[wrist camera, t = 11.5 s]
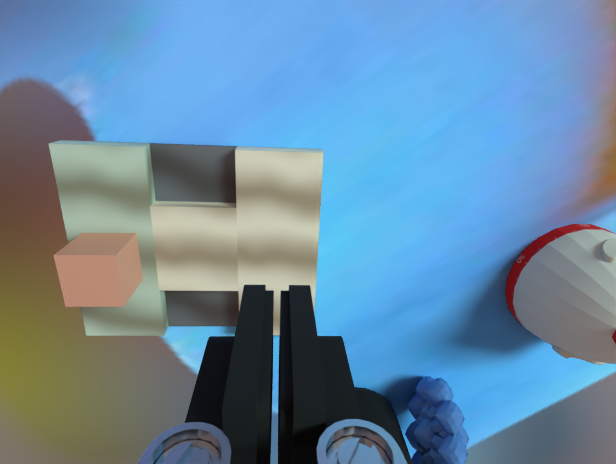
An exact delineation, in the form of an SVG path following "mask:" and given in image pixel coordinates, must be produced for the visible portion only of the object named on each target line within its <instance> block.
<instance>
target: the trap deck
mask: <svg viewBox="0 0 616 464" xmlns="http://www.w3.org/2000/svg"><path fill="white" fill-rule="evenodd" d="M49 148H50V154H51V159H52V163H53V169H54V174H55V179H56V184H57V189H58V194H59V199H60V205H61V210H62V215H63V220H64V225H65V229H66V235H67V240H68V244H69V243H70V242H71V241H72V240H74V239H75V238H76V237H78V236H79V235H80V234H81V233H137V240H138V247H139V255H140V262H141V269H142V276H143V280H142V282H141V283H140V284H139V286H138V287H137V289H136V290H135V292H134V293H133V295H132V296H131V298H130V299H129V300H128V302H127V303H126V305H125V306H123V307H81V311H82V316H83V321H84V326H85V331H86V335H87V336H115V335H116V336H117V335H118V336H122V335H123V336H126V335H127V336H128V335H129V336H130V335H131V336H137V335H140V336H141V335H164V334H165V332H166V330H167V328H168V326H237V321H238V316H239V310H240V304H241V299H242V293H243V288H244V285H266V290H274V314H273V335H280V294H281V291H289V285H310V288H311V295H312V302H313V309H314V306H315V289H316V273H317V256H318V239H319V222H320V205H321V188H322V171H323V154H324V153H323V151H322V149H301V148H271V147H242V146H213V145H184V144H155V143H126V142H97V141H68V140H66V141H65V140H60V141H57V142H53V143H49Z"/></svg>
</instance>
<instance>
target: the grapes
mask: <svg viewBox="0 0 616 464" xmlns="http://www.w3.org/2000/svg"><path fill="white" fill-rule="evenodd" d="M415 390H416V392H417V394H415V395H414V396H413V397H412V398H411V400H410V401H409V403H408V405H407V406H408V408H409V410H410V412H411V414H412V415H413V417H414V418H415V419H416V420H415V421H414V422H412V423H411V424H410V426H409V427H408V429H407V431H406V433H405V435H406V437H407V439H408V441H409V442H410V444H411V446H412V447H413V448H414V449H415V450H418V451H416V452H415V454H414V455H413V457H412V459H411V461H412V464H465V462H466V459H467V455H468V453H467V450H466V446H467V443H468V440H469V438H468V435H467V433H466V431H465V429H464V428H463V426H462V424H463V422H464V417H463V414H462V412H461V410H460V408H459V407H458V406H457V404H456V403H454V402H453V401H451V400H452V398H453V393H452V391H451V388H450V387H449V385H448V384H447V382H446V381H444V380H443V379H442V378H436V379H435V380H434V379H433V378H431V377H430V376H429V377H424V378H423V379H422V380H420V382H419V383H418V385H417V387H416V389H415Z"/></svg>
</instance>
